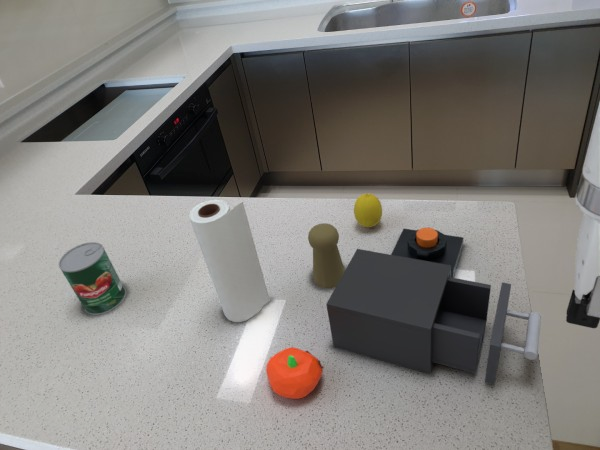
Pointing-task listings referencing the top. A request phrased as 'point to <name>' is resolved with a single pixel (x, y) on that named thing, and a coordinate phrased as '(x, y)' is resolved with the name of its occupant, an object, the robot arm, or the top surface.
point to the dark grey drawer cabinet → (388, 308)
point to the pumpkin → (293, 373)
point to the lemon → (368, 210)
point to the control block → (430, 249)
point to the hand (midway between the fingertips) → (581, 320)
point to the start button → (426, 237)
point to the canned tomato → (92, 278)
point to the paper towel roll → (230, 258)
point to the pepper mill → (325, 255)
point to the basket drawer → (476, 327)
